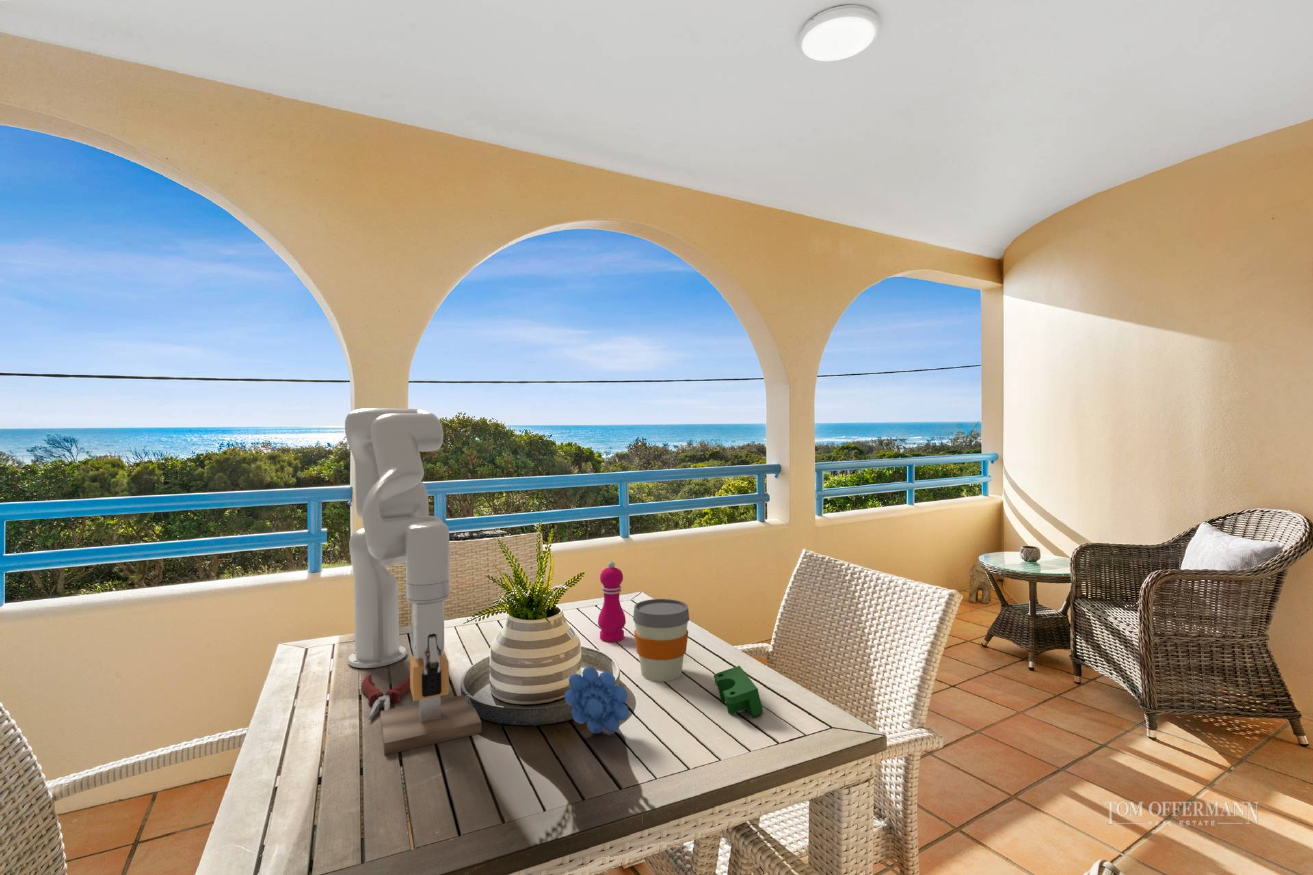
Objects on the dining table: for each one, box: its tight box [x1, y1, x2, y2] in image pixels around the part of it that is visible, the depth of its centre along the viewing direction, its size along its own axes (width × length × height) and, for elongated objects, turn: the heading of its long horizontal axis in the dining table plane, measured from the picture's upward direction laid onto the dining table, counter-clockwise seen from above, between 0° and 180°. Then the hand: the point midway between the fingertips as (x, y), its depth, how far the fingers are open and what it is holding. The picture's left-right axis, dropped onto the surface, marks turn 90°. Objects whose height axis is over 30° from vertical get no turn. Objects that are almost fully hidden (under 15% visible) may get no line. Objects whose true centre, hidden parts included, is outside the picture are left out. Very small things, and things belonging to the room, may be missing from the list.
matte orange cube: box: [409, 651, 450, 702], centre depth 112 cm, size 6×6×6 cm
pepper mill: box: [597, 561, 627, 643], centre depth 159 cm, size 7×7×20 cm
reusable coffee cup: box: [632, 598, 690, 683], centre depth 136 cm, size 13×13×15 cm
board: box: [379, 693, 482, 756], centre depth 112 cm, size 13×16×6 cm
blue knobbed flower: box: [564, 666, 630, 735], centre depth 109 cm, size 12×7×12 cm, turn 87°
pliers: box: [360, 673, 411, 721], centre depth 124 cm, size 12×20×3 cm, turn 16°
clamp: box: [713, 665, 764, 718], centre depth 120 cm, size 12×6×9 cm, turn 4°
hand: (429, 686), depth 112 cm, fingers closed on matte orange cube, 6 cm apart
